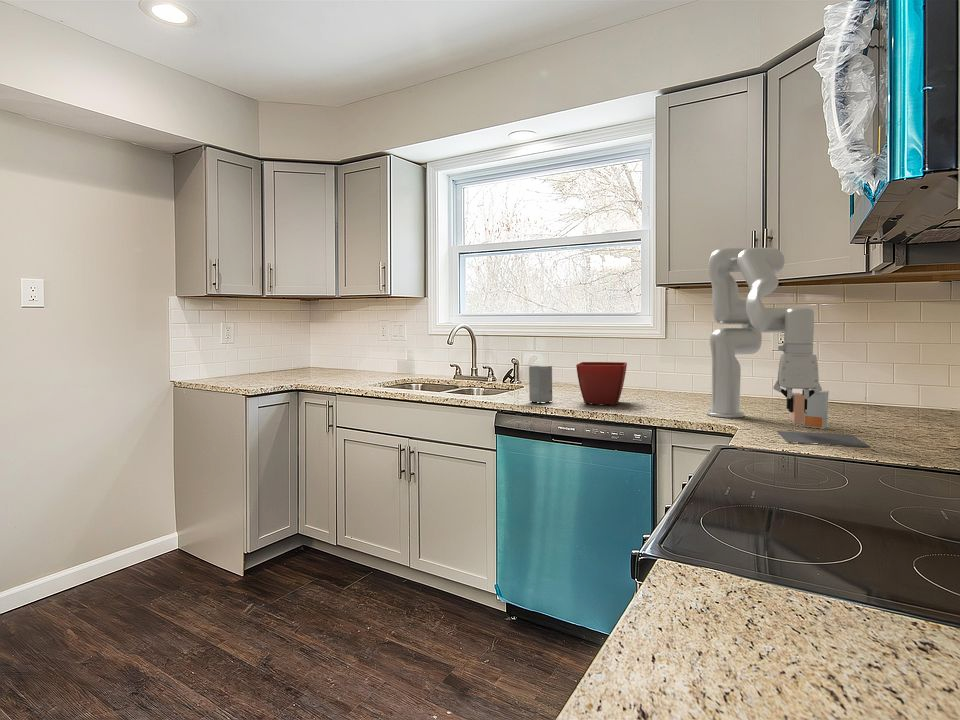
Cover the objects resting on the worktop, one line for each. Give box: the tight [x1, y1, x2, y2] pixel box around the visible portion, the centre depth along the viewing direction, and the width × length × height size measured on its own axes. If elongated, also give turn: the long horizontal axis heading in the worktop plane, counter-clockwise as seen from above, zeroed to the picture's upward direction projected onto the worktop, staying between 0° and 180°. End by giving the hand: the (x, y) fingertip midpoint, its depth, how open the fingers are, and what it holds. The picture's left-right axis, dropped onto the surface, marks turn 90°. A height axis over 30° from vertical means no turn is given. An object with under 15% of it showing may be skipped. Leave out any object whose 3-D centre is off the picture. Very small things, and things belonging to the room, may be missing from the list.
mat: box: [776, 430, 871, 448], centre depth 163 cm, size 16×20×1 cm
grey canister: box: [528, 365, 553, 403], centre depth 239 cm, size 8×7×16 cm
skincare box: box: [802, 390, 830, 430], centre depth 181 cm, size 6×4×12 cm
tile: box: [788, 392, 805, 424], centre depth 167 cm, size 7×2×8 cm, turn 162°
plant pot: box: [575, 361, 628, 406], centre depth 236 cm, size 19×19×17 cm
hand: (796, 411), depth 167 cm, fingers closed on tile, 2 cm apart
